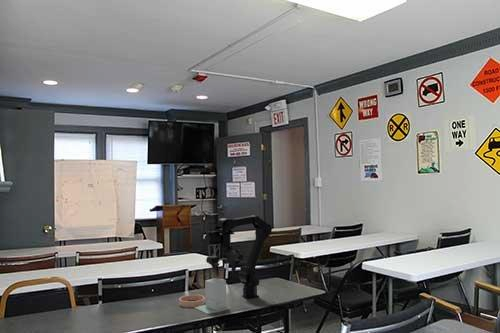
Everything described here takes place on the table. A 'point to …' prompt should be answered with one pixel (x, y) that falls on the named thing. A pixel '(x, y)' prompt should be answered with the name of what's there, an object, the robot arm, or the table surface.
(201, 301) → the terracotta ring
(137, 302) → the table surface
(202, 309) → the sage mat
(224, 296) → the supplement box
